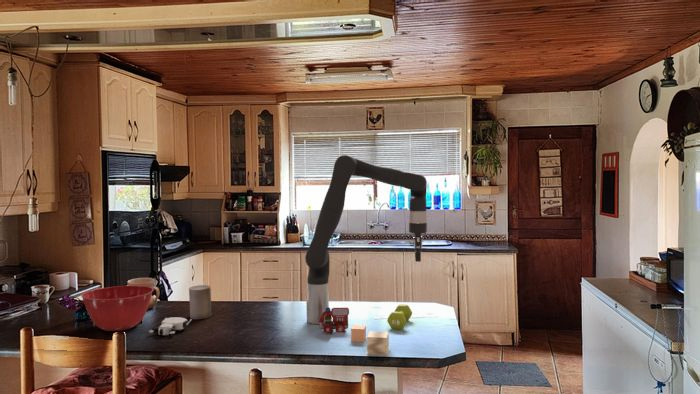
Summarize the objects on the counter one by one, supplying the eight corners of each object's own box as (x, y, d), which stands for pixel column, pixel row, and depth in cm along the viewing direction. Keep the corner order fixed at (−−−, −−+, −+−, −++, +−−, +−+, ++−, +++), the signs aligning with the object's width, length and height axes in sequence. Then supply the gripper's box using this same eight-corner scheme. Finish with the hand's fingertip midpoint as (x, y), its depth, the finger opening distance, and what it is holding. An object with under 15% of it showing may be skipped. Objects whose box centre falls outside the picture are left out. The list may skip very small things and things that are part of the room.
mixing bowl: (111, 316, 249) (110, 283, 248) (166, 319, 243) (166, 285, 242) (67, 334, 221) (66, 297, 220) (129, 338, 215) (127, 300, 214)
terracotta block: (351, 344, 205) (351, 328, 205) (353, 340, 210) (353, 325, 210) (364, 344, 204) (363, 329, 204) (365, 340, 209) (365, 325, 209)
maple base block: (367, 353, 191) (367, 337, 190) (369, 347, 198) (369, 331, 197) (386, 354, 190) (386, 337, 189) (388, 348, 196) (388, 331, 196)
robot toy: (174, 340, 215) (193, 327, 230) (173, 329, 215) (192, 316, 229) (147, 338, 218) (167, 325, 232) (146, 328, 217) (166, 315, 232)
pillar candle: (215, 314, 251) (214, 282, 250) (205, 319, 241) (204, 286, 240) (195, 313, 252) (194, 282, 252) (185, 319, 243) (184, 286, 242)
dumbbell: (405, 331, 221) (404, 313, 221) (386, 329, 224) (386, 312, 223) (413, 320, 237) (413, 304, 236) (395, 319, 239) (395, 303, 239)
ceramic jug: (116, 311, 258) (116, 282, 257) (135, 303, 272) (134, 276, 271) (150, 314, 254) (149, 284, 253) (167, 306, 268) (166, 278, 267)
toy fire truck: (320, 329, 225) (320, 304, 224) (350, 329, 224) (349, 305, 223) (318, 334, 218) (317, 309, 217) (348, 334, 217) (348, 309, 216)
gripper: (408, 220, 233) (408, 256, 234) (409, 223, 219) (409, 262, 220) (426, 220, 233) (426, 257, 233) (427, 223, 218) (427, 262, 219)
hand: (417, 259), depth 227 cm, fingers open, 8 cm apart
